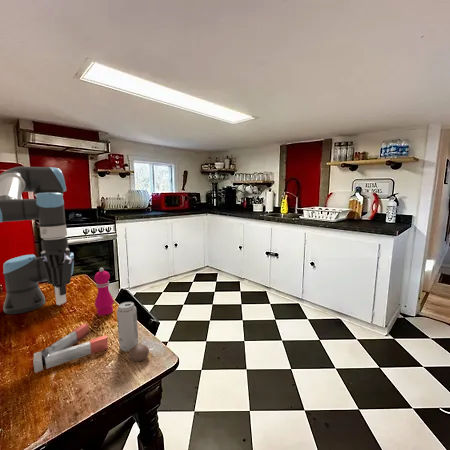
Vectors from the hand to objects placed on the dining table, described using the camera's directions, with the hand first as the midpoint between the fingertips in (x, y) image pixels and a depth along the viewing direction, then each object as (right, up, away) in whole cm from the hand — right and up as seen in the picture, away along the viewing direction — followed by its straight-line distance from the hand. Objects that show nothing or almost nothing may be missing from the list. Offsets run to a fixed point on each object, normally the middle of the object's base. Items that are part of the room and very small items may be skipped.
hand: (61, 303), depth 90 cm
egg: (+31, -14, -10) cm, 36 cm away
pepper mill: (+6, -10, +21) cm, 24 cm away
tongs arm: (+5, -14, -4) cm, 15 cm away
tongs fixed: (+9, -14, -9) cm, 19 cm away
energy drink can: (+26, -14, -4) cm, 29 cm away
